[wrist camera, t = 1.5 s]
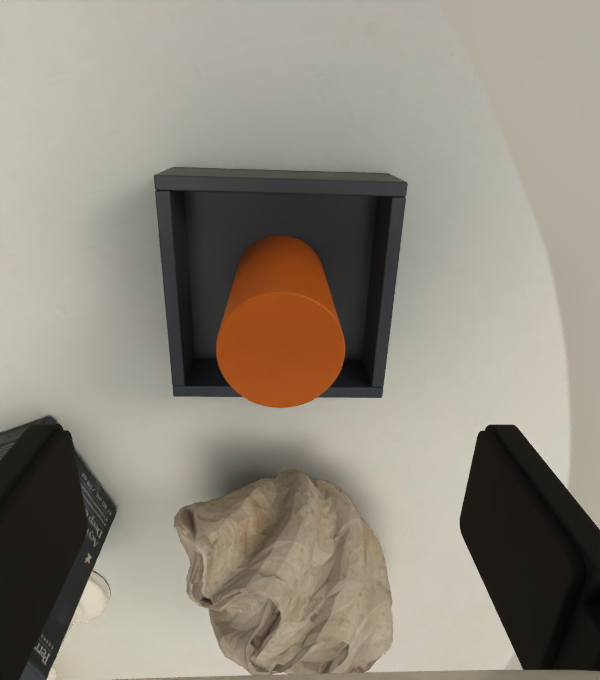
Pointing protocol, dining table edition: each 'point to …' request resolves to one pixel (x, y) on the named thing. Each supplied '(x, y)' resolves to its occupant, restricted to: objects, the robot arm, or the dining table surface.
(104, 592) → the chess piece
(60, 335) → the dining table surface
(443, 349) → the dining table surface
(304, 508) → the seashell
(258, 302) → the orange cylinder
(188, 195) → the bin
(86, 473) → the box
